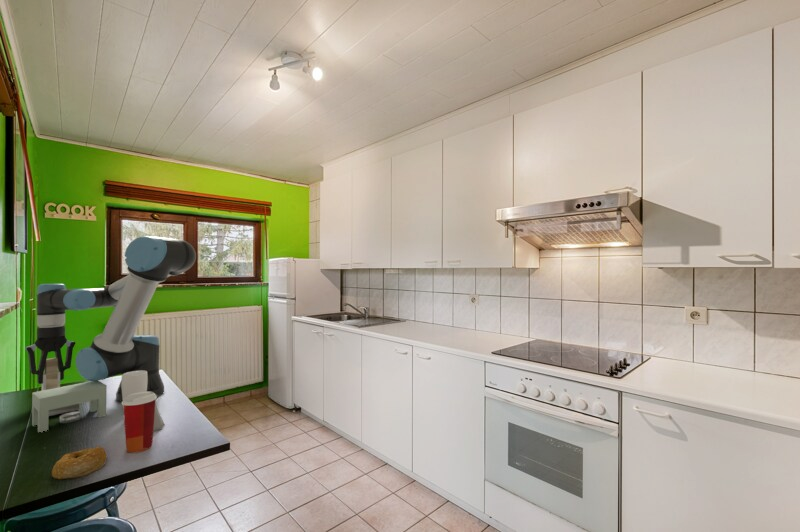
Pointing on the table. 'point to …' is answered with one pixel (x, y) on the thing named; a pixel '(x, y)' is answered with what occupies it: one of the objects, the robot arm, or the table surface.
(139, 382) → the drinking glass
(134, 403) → the paper cup
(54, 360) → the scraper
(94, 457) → the bagel
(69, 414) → the steel disc
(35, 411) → the white bridge stand
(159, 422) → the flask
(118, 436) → the table surface
